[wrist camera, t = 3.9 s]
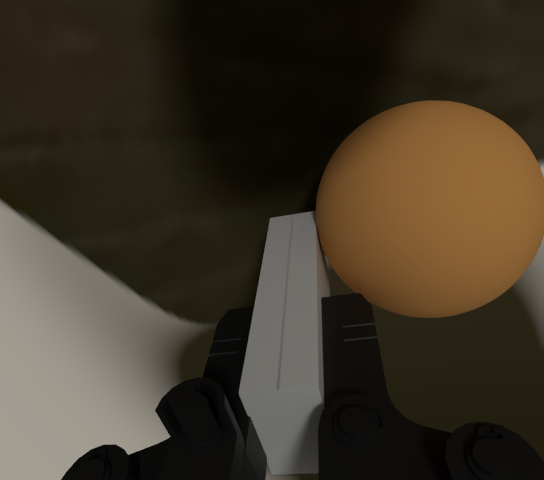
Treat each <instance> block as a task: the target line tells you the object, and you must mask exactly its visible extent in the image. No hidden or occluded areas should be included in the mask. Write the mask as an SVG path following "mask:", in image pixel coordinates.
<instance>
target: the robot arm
mask: <svg viewBox="0 0 544 480" xmlns="http://www.w3.org/2000/svg"><path fill="white" fill-rule="evenodd" d="M209 354H210V357H208V360H207V364H206V367H205V371H204V374H203V378H194V379H190V380H186V381H184V382H182V383H180V384H179V385H177V386H175V387H173V388H172V389H171V390H170V391H169V392H168V393H167V394H166V395H165V396H164V397H163V398H162V399H161V401H160V403H159V405H158V406H157V408H156V410H155V411H156V413H157V414H158V416H159V418H160V419H161V421H162V423H163V425H164V426H165V428H166V429H167V431H168V433H169V434H170V436H171V437H170V438H168V439H167V440H165V441H163V442H160V443H159V444H156V445H153V446H151V447H148V448H145V449H143V450H140V451H138V452H135V453H133V454H130V455H128V454H127V453H126V451H125V450H124V449H122V448H121V447H119V446H117V445H102V446H100V447H97V448H94V449H92V450H90V451H89V452H87V453H86V454H84V455H83V456H82V457H80V458H79V459H78V460H77V461H76V462H75V463H74V464H73V465H72V466H71V468H70V469H69V470H68V471H67V472H66V474H65V475H64V476H63V478H62V479H61V480H265V476H266V465H267V463H268V466H269V469H270V471H271V473H272V475H280V474H281V475H282V474H308V473H309V474H310V473H319V480H544V461H543V460H542V459H541V458H540V456H539V455H538V454H537V452H536V451H535V450H534V449H533V448H532V447H531V446H530V445H529V444H528V443H527V442H526V441H525V440H524V439H523V438H522V437H521V436H520V435H518V434H516V433H514V432H513V431H511V430H509V429H507V428H505V427H504V426H501V425H497V424H492V423H488V422H475V423H467V424H465V425H464V426H461V427H460V428H458V429H456V430H454V432H453V433H449V432H445V431H441V430H437V429H433V428H429V427H425V426H422V425H419V424H417V423H415V422H413V421H411V420H409V419H408V418H406V417H404V416H403V415H402V414H401V413H400V412H399V411H398V410H397V409H396V408H395V406H394V405H393V404H392V402H391V400H390V398H389V395H388V392H387V387H386V382H385V376H384V371H383V365H382V360H381V355H380V349H379V344H378V339H377V333H376V327H375V322H374V317H373V311H372V306H371V305H370V303H369V302H368V301H367V300H366V299H365V297H364V296H363V295H362V294H361V293H355V294H347V295H339V296H330V286H329V277H328V271H327V266H326V261H325V255H324V251H323V248H322V245H321V242H320V239H319V235H318V230H317V224H316V211H311V212H305V213H299V214H293V215H287V216H280V217H274V218H270V222H269V228H268V233H267V239H266V244H265V250H264V255H263V261H262V266H261V272H260V278H259V283H258V289H257V294H256V300H255V305H254V307H248V308H240V309H232V310H228V311H227V313H226V314H225V315H224V317H223V318H222V319H221V320H220V322H219V323H218V324H217V328H216V331H215V335H214V339H213V343H212V346H211V349H210V353H209Z"/></svg>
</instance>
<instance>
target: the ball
mask: <svg viewBox="0 0 544 480" xmlns="http://www.w3.org/2000/svg"><path fill="white" fill-rule="evenodd" d="M316 224H317V230H318V235H319V239H320V242H321V245H322V248H323V251H324V253H325V255H326V257H327V259H328V261H329V262H330V264H331V266H332V268H333V269H334V271H335V272H336V273H337V274H338V275H339V277H340V278H341V279H342V280H343V281H344V283H345V284H346V285H347V286H348V287H350V288H351V289H352V290H353V291H354V292H355V293H361V294H362V295H363V296H364V297H365V299H366V300H367V301H368V302H370V303H372V304H374V305H376V306H378V307H380V308H383V309H384V310H387V311H390V312H394V313H397V314H401V315H406V316H411V317H422V318H437V317H446V316H452V315H456V314H461V313H464V312H467V311H470V310H473V309H476V308H478V307H480V306H483V305H485V304H486V303H488V302H490V301H492V300H494V299H495V298H497V297H498V296H500V295H501V294H502V293H504V292H505V291H506V290H508V289H509V288H510V287H511V286H512V285H513V284H514V283H515V282H516V281H517V280H518V279H519V278H520V277H521V276H522V274H523V273H524V272H525V270H526V269H527V268H528V266H529V265H530V264H531V262H532V260H533V259H534V257H535V255H536V253H537V251H538V249H539V247H540V245H541V241H542V238H543V235H544V178H543V175H542V172H541V169H540V166H539V164H538V162H537V160H536V158H535V157H534V155H533V153H532V152H531V150H530V148H529V146H528V145H527V144H526V143H525V142H524V141H523V139H522V138H521V137H520V136H519V135H518V134H517V133H516V132H515V131H514V130H513V129H512V128H511V127H509V126H508V125H507V124H506V123H504V122H503V121H501V120H500V119H498V118H496V117H495V116H493V115H491V114H489V113H487V112H486V111H484V110H481V109H478V108H475V107H472V106H469V105H466V104H463V103H457V102H451V101H429V100H428V101H419V102H412V103H408V104H404V105H400V106H397V107H394V108H391V109H389V110H386V111H383V112H381V113H379V114H377V115H376V116H374V117H372V118H370V119H369V120H367V121H366V122H364V123H363V124H361V125H360V126H359V127H357V128H356V129H355V130H354V131H353V132H352V133H351V134H349V135H348V136H347V138H346V139H345V140H344V141H343V142H342V143H341V144H340V145H339V147H338V148H337V150H336V151H335V152H334V154H333V155H332V157H331V159H330V161H329V162H328V164H327V166H326V168H325V171H324V173H323V176H322V178H321V181H320V185H319V189H318V193H317V201H316Z"/></svg>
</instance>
